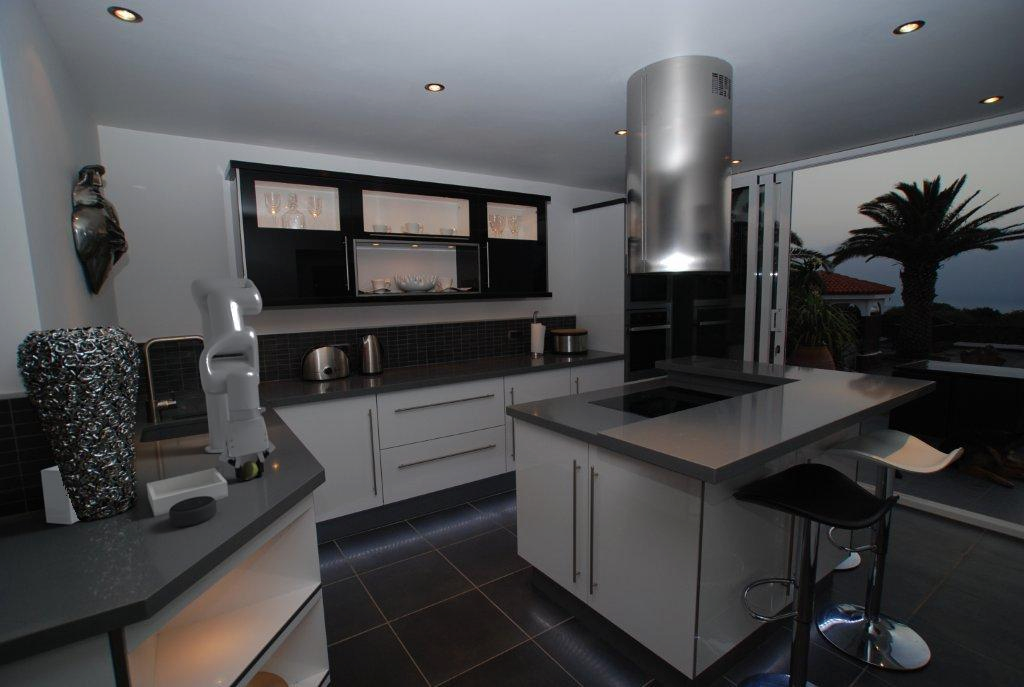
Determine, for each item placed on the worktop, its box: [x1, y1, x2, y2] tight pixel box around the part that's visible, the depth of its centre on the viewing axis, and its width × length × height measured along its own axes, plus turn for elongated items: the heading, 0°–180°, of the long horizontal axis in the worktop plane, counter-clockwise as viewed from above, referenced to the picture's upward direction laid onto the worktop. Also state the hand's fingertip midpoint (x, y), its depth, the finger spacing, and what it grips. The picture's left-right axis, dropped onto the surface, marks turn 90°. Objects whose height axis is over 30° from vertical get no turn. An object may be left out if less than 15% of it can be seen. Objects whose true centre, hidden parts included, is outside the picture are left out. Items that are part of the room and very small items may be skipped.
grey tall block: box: [40, 465, 80, 525], centre depth 109 cm, size 7×7×13 cm
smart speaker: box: [168, 496, 218, 528], centre depth 106 cm, size 9×9×4 cm
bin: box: [146, 467, 229, 517], centre depth 118 cm, size 15×15×4 cm
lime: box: [241, 460, 258, 481], centre depth 130 cm, size 4×5×5 cm
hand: (250, 477), depth 130 cm, fingers closed on lime, 4 cm apart
